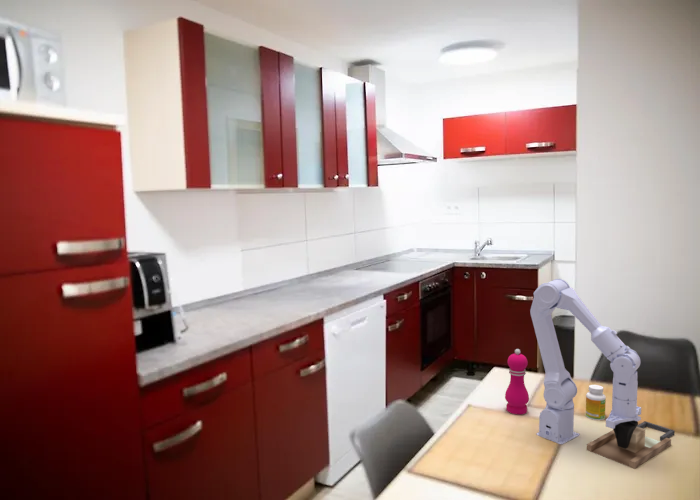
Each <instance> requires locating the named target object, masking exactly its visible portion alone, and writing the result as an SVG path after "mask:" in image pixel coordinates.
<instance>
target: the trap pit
mask: <svg viewBox="0 0 700 500" xmlns="http://www.w3.org/2000/svg"><path fill="white" fill-rule="evenodd" d="M637 427H640V428H643V429H645V428H649V429H653V430H656V431H658V432H662V433H664V434H662V435H660V436H659V441H662V440H664V439H665V438H669V439H671V437H673V436H675V430H674V429H670V428H668V427H665V426H661V425H658V424H655V423H653V422H649V421H643V422H641V423H638V425H637Z"/></svg>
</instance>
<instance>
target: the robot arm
mask: <svg viewBox="0 0 700 500" xmlns="http://www.w3.org/2000/svg"><path fill="white" fill-rule="evenodd" d="M556 308H557V309H560V310H566V311H569V312H570V313H571V314H572V315H573V316H574V317H575V318H576V319H577V320H578V321H579V322H580V323H581V324H582V325H583V327H585V329H587V331H589V333H590V340H591V342H592V343H593V344H594V345H595V346H596V348H597V349H598V350H599V351H600V352H601V353H602V354H603V356H604V357H605V358H606V359H607V360H608V361H610V363H609V366H610V369H611V371H612V372H613V378H612V397H611V398H612V401H611V410H610V413H609V415H608V417H607V418H605V427H606V428H610V429H612V430H614V433H615V436H616V440H617V444H618V446H619V447H622V448H624V449H626V448H628V446H629V443H630V439H631V436H632V434H633V432H634V430H635V428H636V427H637V425H639V422H640V421H641V420H642V417H641V415H642V407H641V406H638V385H639V384H638V383H639V381H638V371H637V370H638V369H639V368H640V366H641V361H642V360H641V358H640V356H639V354H638V352H637V351H636V350H634V349H632V348H631V347H629V345H626V344H625V343H624V342H623V341H622V340H621V339H620V337H619V336H618V335H617V334H618V332H617V331H616V329H611V327H610V326H605V325H602V324H601V322H600V321H598V319H597V317H595V315H594V314H593V313H592V311H590V309H589V308H588V306H587V305H586V304H585V303H584V302H583V301H582V299H581V298H580V297H579V295H578V293H577V291H576V290H575V289H574V288H573V287H571V286H570V284H569V283H568V282H567V281H566V280H565V279H562V278H555V279H552V280H551V281H548V282H543V283H541V284H540V285H539V286H538V287H537V288H536V289H535V291H533V299H532V303H531V306H530V309H529V311H530V317H531V321H532V325H533V328H534V333H535V336H536V340H537V345H538V348H539V353H540V355H541V356H540V357H541V360H542V365H543V367H544V371H545V374H544V379H543V386H544V389H543V399H544V401H545V408H543V410H541V412H540V413H539V418H538V419H539V420H538V422H539V423H538V432H536V436H539V437H541V438H543V439H545V440H549V441H551V442H553V443H556V444H558V445H564V444H566V443H567V442H569V441H572V440H574V439H575V438H577V437H580V435H581V434H580V433H578V432H576V431H574V423H575V422H574V420H575V419H574V418H575V415H574V414H575V403H574V398H575V397H576V396H577V394H578V387H577V384H576V382H574V380H573V379H572V377H571V373H570V372H569V371H568V370H567V369H566V368H565V367H566V366H565V363H564V359H563V356H562V352H561V349H560V344H559V341H558V336H557V333H556V328H555V326H554V321H553V317H552V314H553V312H554V311H555V309H556Z"/></svg>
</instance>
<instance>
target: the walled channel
mask: <svg viewBox="0 0 700 500" xmlns="http://www.w3.org/2000/svg"><path fill="white" fill-rule="evenodd" d="M616 443H617V440H616V436H615V433H614V430H613V429H612V430H611V431H609V432H607V433H605V434H603V435H601V436H599V437H598V438H596V439H593V440H591V441H590V442H588V443H587V444H586V451H588V452H591V453H592V454H595V455H598V456H601V457H604V458H605V459H609V460H611V461H614V462H616V463H619V464H622V465H623V466H625V467H626V466H627V467H629V468H631V469H634V470H635V469H637V468H638V467H640V466H641V465H643V464H644V463H646V462H647V461H649V460H650V459H652V458H653V457H655V456H657V455H658V454H660V453H662V451H664V450H666V449H667V448H669V447H670V446H672V438H665V439H664V440H662V441H660V440H657V439H654V438H652V437H649V436H646V435H645V448H643V449H641V450H640V451H638V452H636V453H634V452H631V451H629V450H626V449H623V448H621V447H618V446H616Z"/></svg>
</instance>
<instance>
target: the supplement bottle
mask: <svg viewBox="0 0 700 500" xmlns="http://www.w3.org/2000/svg"><path fill="white" fill-rule="evenodd" d="M606 398H607V397H606V395H605V394H604V387H603V386H601V385H598V384H590V385H588V391H587V393H586V394H585V417H586V418H587V419H590V420H593V421H603V420H606V401H607V400H606Z"/></svg>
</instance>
